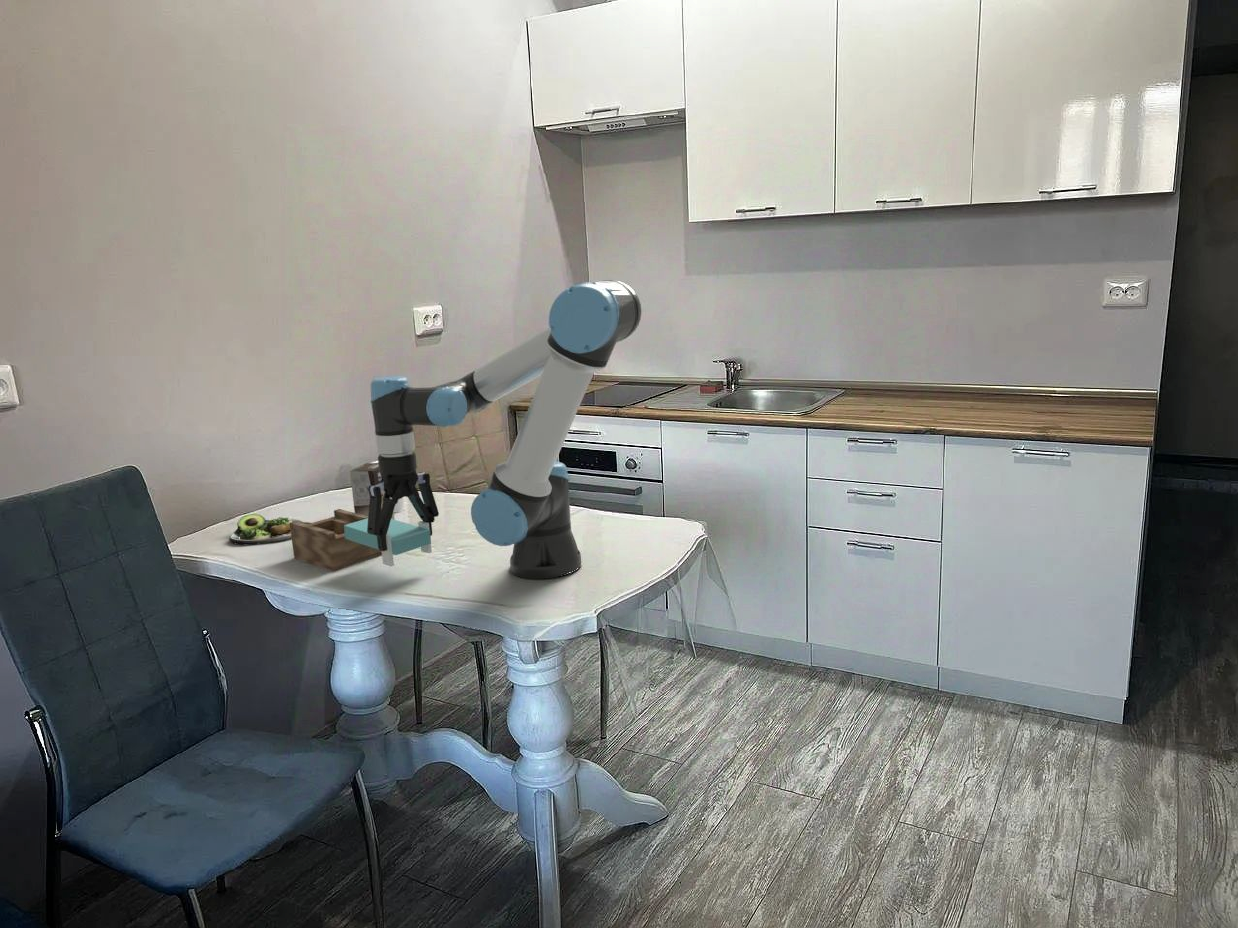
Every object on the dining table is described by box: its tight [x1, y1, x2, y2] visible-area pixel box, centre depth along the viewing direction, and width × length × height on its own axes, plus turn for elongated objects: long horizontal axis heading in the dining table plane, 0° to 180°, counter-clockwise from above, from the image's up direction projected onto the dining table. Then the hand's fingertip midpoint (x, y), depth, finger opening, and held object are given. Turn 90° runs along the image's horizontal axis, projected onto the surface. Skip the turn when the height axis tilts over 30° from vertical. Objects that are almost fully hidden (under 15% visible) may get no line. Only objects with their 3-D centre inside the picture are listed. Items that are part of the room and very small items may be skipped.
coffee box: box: [349, 462, 396, 520], centre depth 231 cm, size 9×6×16 cm
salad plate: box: [229, 513, 311, 545], centre depth 233 cm, size 19×18×5 cm
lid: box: [344, 518, 432, 556], centre depth 198 cm, size 18×9×3 cm, turn 49°
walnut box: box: [290, 508, 382, 572], centre depth 212 cm, size 16×13×8 cm
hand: (407, 557), depth 195 cm, fingers closed on lid, 9 cm apart
